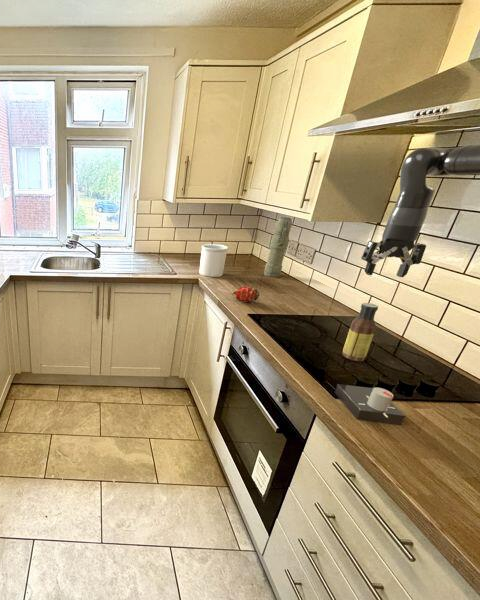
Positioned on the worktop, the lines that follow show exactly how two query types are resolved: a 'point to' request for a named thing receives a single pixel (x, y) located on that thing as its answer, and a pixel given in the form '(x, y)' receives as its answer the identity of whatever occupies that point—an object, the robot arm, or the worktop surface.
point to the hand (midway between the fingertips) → (384, 275)
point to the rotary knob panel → (358, 406)
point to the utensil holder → (212, 260)
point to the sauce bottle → (360, 333)
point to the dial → (380, 399)
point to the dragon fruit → (246, 294)
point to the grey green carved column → (278, 247)
